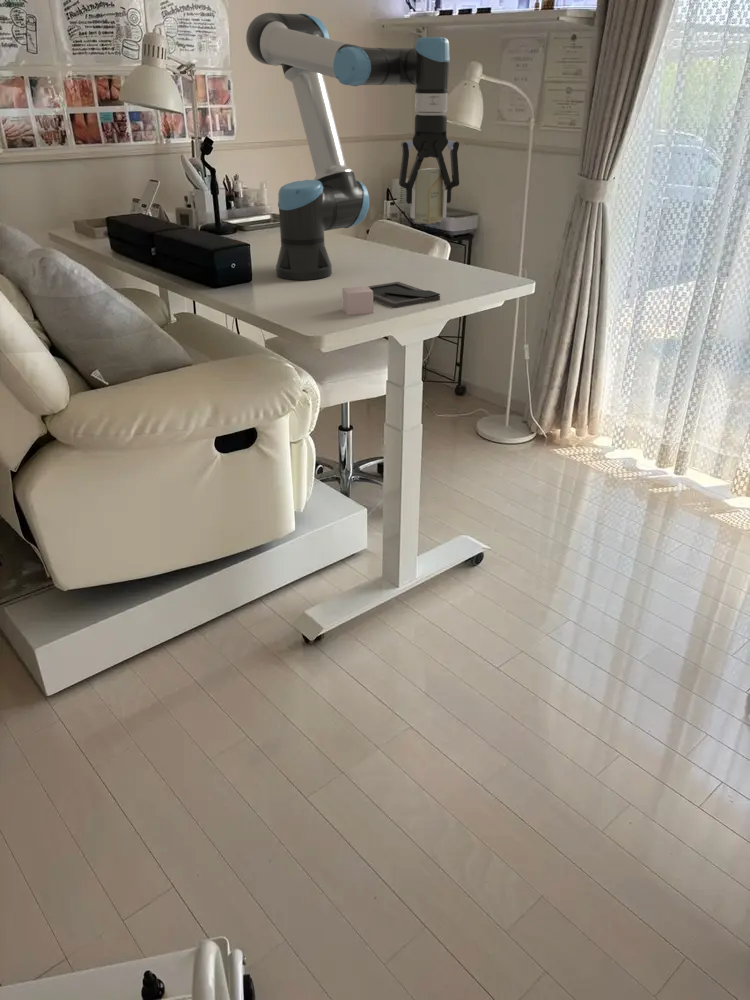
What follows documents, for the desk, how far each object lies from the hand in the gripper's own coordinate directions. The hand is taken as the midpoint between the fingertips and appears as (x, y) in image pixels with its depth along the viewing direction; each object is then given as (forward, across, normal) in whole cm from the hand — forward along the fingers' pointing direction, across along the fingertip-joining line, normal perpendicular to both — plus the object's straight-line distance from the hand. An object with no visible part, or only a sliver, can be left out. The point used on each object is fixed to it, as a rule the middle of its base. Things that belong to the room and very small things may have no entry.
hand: (428, 217), depth 194 cm
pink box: (+17, -20, -22) cm, 34 cm away
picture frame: (+18, -9, -9) cm, 22 cm away
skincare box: (+1, 0, 0) cm, 1 cm away
